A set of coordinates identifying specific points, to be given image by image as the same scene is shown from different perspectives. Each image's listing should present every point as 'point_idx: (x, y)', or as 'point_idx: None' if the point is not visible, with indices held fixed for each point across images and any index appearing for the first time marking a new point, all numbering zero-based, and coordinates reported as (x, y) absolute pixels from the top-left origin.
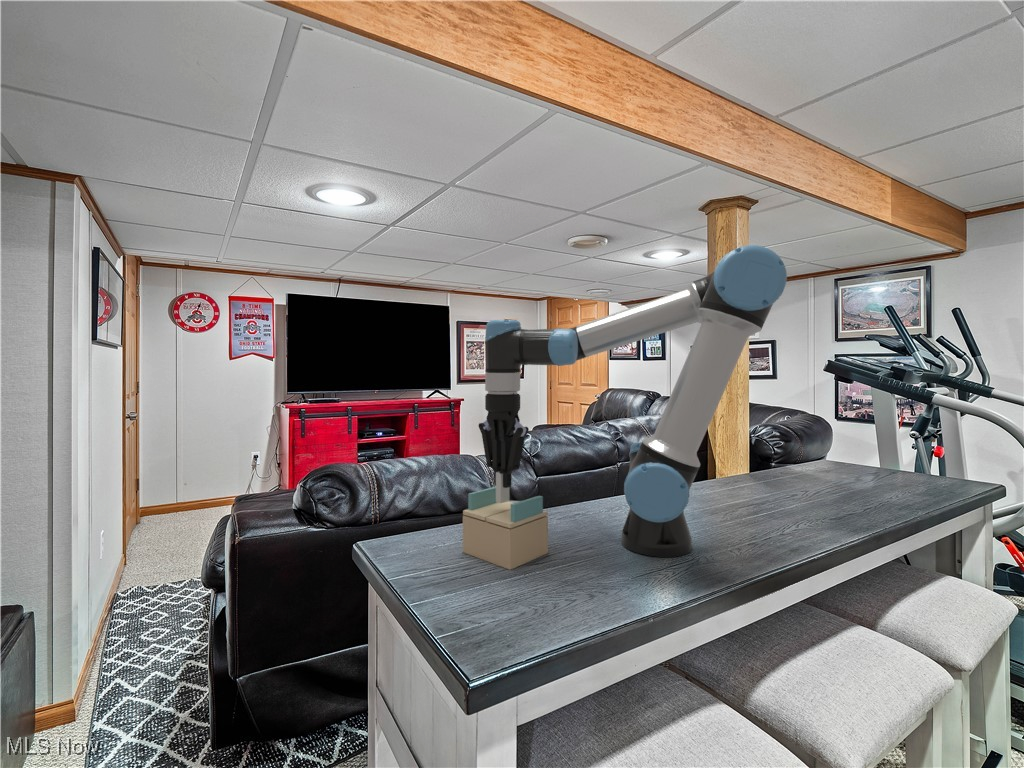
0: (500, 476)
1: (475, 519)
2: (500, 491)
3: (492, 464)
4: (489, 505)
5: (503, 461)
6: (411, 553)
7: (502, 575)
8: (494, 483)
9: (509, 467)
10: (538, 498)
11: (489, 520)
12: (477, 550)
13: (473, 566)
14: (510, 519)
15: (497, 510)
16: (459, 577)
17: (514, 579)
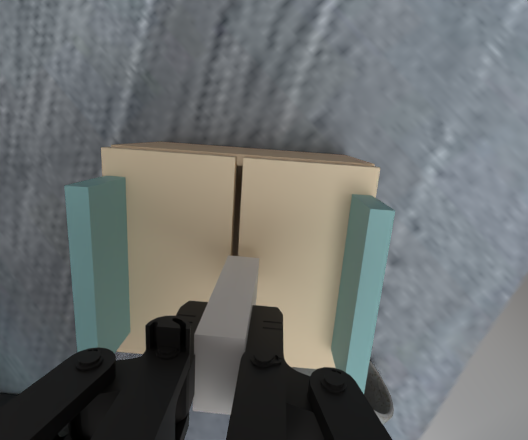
0: (203, 321)
1: (299, 160)
2: (220, 278)
3: (303, 397)
4: (334, 288)
5: (133, 405)
6: (472, 47)
7: (153, 101)
8: (280, 313)
9: (79, 365)
10: (78, 343)
11: (217, 155)
12: (284, 151)
13: (252, 97)
14: (143, 196)
15: (262, 255)
16: (229, 13)
17: (114, 102)
